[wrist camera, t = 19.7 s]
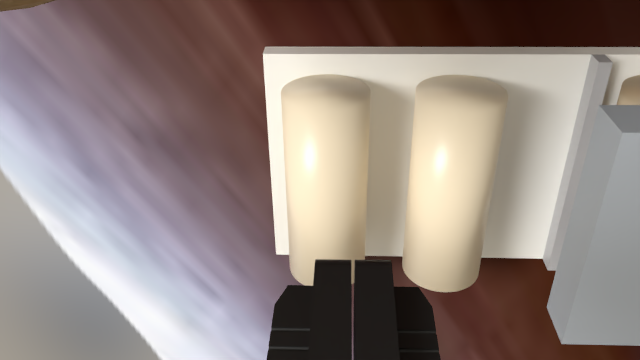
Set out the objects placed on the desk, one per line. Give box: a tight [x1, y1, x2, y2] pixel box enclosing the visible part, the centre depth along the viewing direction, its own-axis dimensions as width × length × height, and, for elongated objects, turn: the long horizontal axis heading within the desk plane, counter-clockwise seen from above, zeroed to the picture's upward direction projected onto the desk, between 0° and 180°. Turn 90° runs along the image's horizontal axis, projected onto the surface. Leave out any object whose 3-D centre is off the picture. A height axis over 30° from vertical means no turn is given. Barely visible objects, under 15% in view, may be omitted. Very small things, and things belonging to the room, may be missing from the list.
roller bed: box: [263, 47, 640, 292], centre depth 29 cm, size 12×28×6 cm, turn 91°
